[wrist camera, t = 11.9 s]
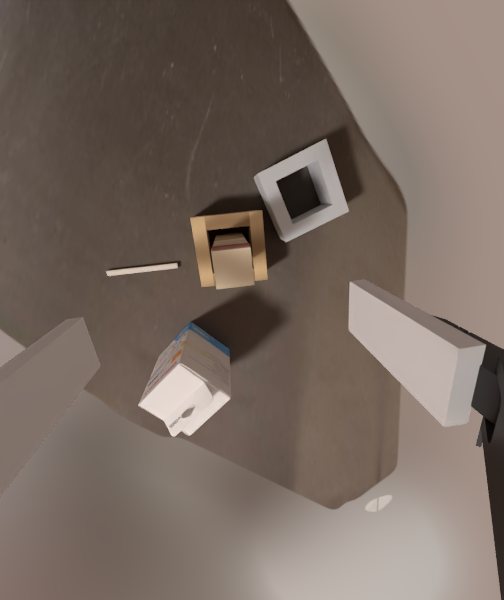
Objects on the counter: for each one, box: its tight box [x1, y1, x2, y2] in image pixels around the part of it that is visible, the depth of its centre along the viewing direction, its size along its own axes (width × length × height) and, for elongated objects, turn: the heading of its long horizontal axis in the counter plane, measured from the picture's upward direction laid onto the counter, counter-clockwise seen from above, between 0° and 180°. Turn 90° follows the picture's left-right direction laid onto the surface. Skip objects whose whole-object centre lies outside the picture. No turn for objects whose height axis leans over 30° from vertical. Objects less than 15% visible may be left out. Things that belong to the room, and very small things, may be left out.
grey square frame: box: [254, 139, 349, 242], centre depth 35 cm, size 9×9×4 cm
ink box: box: [138, 322, 231, 436], centre depth 38 cm, size 9×8×13 cm
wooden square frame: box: [190, 210, 268, 287], centre depth 36 cm, size 9×9×4 cm
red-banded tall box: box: [211, 232, 254, 289], centre depth 32 cm, size 4×4×15 cm
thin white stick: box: [106, 263, 178, 276], centre depth 38 cm, size 1×10×1 cm, turn 96°
